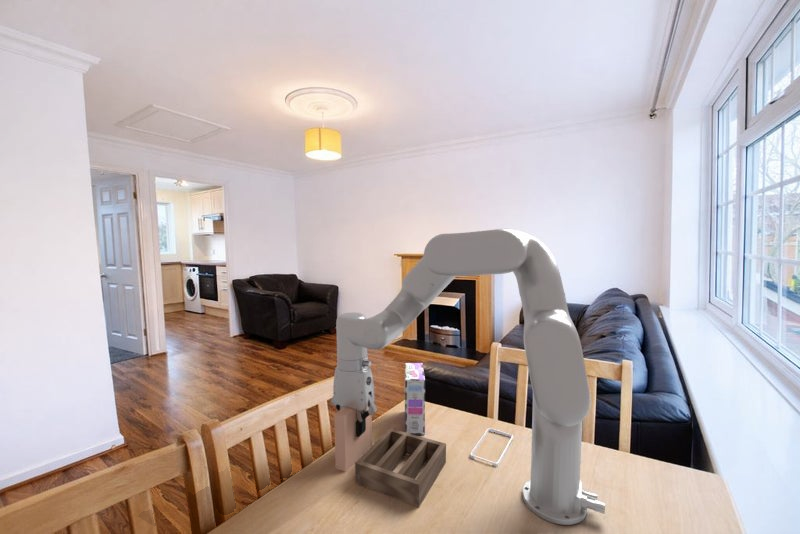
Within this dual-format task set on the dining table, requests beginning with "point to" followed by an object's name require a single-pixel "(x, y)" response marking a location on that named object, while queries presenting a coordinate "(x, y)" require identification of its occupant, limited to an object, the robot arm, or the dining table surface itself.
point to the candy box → (414, 399)
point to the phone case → (481, 441)
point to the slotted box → (403, 486)
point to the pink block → (350, 438)
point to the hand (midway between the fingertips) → (353, 431)
